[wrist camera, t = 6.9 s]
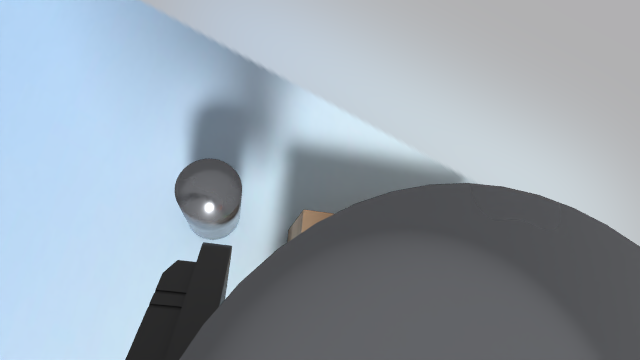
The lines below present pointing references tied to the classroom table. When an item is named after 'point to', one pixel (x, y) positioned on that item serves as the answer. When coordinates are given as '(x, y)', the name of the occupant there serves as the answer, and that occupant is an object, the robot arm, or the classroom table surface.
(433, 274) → the long pin
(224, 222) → the short pin
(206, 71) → the classroom table surface
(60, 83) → the classroom table surface
